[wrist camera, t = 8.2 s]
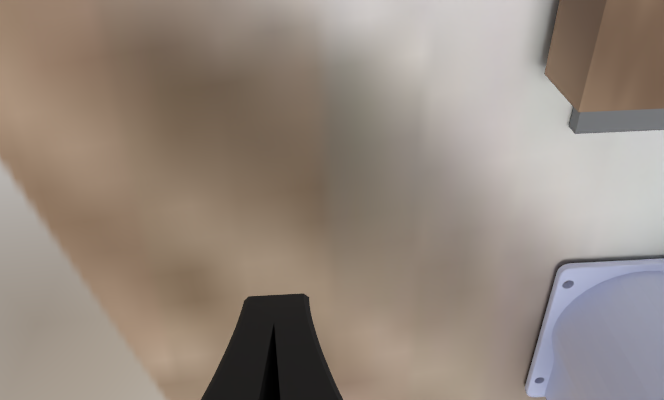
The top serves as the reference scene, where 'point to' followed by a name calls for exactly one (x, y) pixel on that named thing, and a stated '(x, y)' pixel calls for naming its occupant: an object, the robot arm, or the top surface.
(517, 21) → the top surface
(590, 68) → the slab
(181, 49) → the top surface
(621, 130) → the mat
